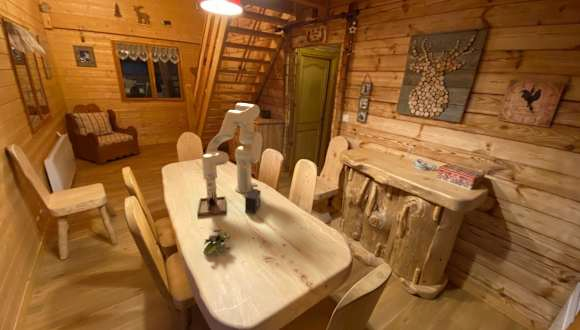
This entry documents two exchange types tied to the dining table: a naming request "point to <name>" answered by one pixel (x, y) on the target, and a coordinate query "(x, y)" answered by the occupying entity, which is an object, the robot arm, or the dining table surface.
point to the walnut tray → (212, 207)
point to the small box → (252, 201)
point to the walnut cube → (214, 198)
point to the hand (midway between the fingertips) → (212, 202)
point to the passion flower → (217, 239)
